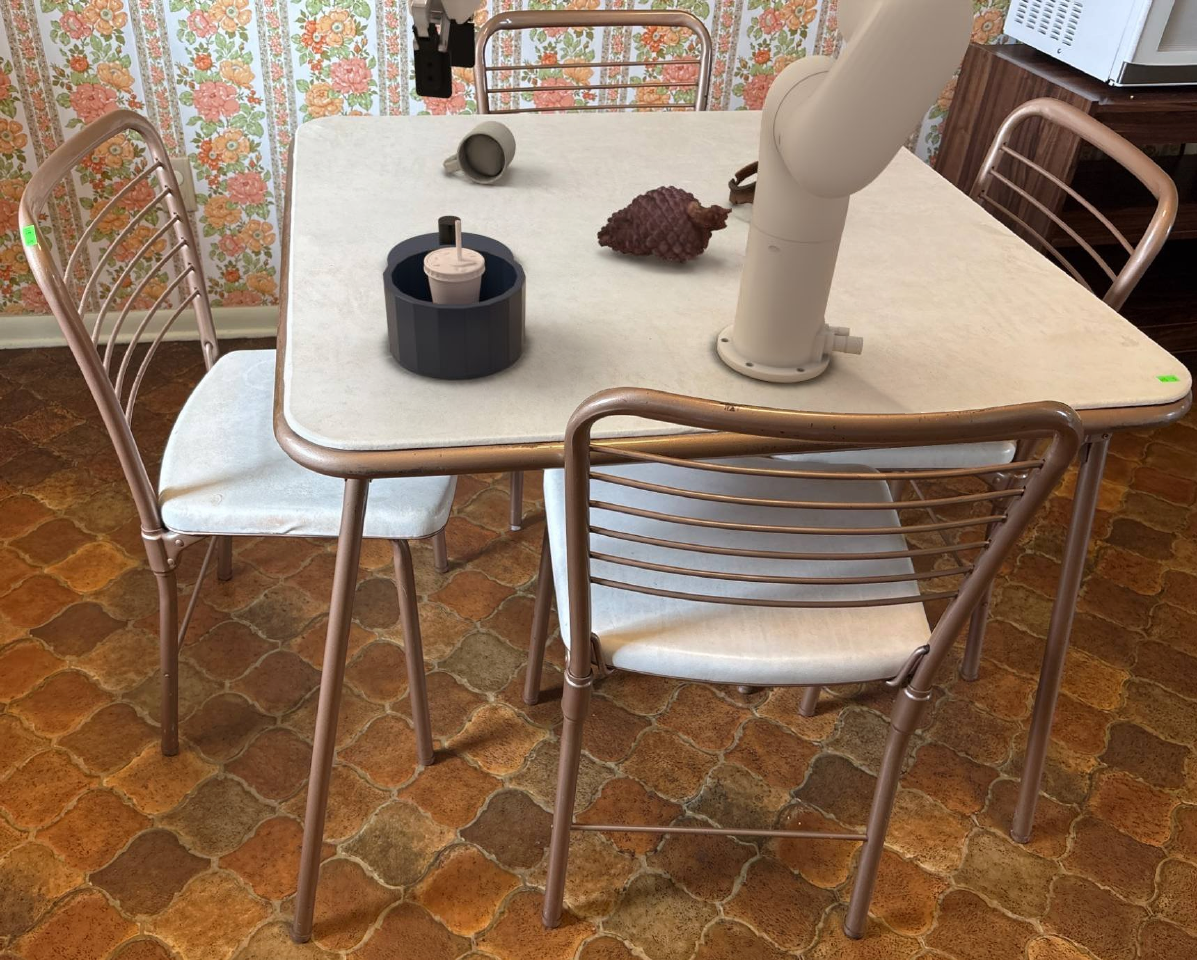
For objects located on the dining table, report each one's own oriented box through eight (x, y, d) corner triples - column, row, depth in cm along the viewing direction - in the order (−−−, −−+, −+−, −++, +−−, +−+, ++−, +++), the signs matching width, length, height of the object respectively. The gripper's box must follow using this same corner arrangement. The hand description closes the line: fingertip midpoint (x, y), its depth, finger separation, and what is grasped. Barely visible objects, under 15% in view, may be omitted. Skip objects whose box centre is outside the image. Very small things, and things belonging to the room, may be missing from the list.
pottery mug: (792, 233, 139) (770, 183, 135) (733, 245, 145) (711, 197, 141) (817, 186, 146) (797, 136, 141) (760, 198, 152) (740, 152, 147)
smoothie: (476, 359, 106) (473, 237, 98) (419, 350, 107) (411, 229, 99) (493, 331, 111) (492, 212, 103) (439, 322, 112) (433, 204, 104)
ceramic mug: (518, 167, 153) (517, 116, 148) (507, 186, 146) (506, 134, 141) (451, 161, 153) (448, 111, 149) (437, 180, 147) (434, 128, 142)
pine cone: (597, 273, 125) (585, 193, 124) (609, 278, 135) (598, 204, 134) (736, 249, 122) (725, 167, 121) (739, 256, 132) (729, 180, 131)
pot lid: (523, 245, 131) (524, 201, 127) (501, 301, 118) (500, 253, 114) (406, 234, 132) (403, 189, 128) (371, 288, 119) (367, 240, 115)
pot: (534, 319, 115) (535, 251, 110) (511, 387, 103) (510, 315, 98) (409, 306, 116) (404, 238, 111) (372, 373, 104) (365, 300, 99)
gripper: (460, -116, 75) (466, 113, 85) (503, -142, 88) (504, 59, 99) (363, -124, 75) (381, 105, 86) (420, -148, 89) (430, 53, 99)
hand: (447, 80), depth 92 cm, fingers open, 9 cm apart
